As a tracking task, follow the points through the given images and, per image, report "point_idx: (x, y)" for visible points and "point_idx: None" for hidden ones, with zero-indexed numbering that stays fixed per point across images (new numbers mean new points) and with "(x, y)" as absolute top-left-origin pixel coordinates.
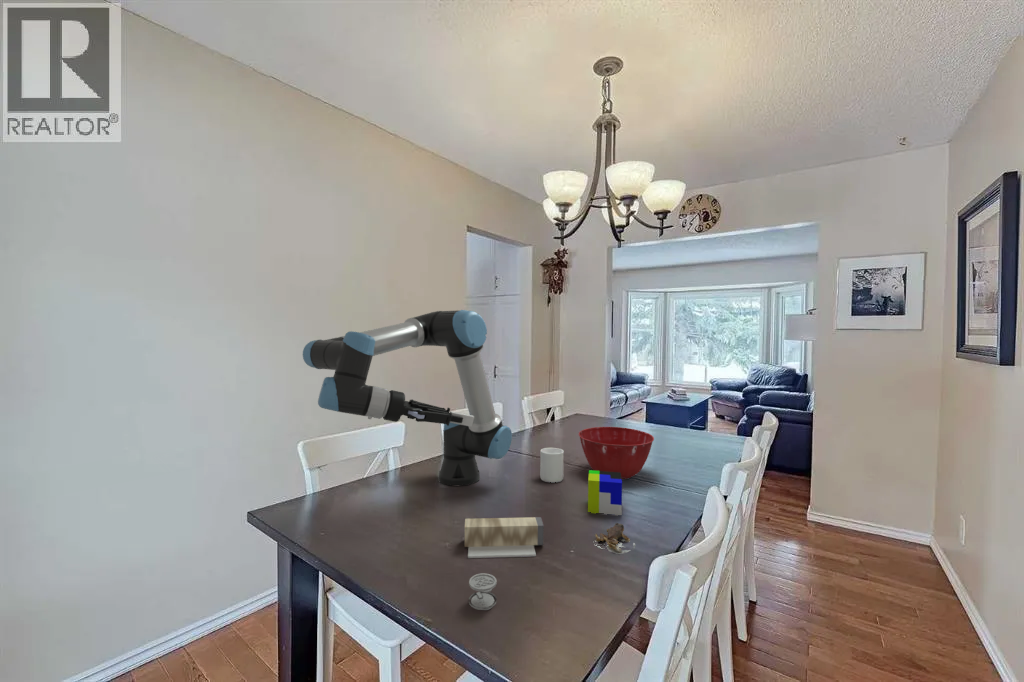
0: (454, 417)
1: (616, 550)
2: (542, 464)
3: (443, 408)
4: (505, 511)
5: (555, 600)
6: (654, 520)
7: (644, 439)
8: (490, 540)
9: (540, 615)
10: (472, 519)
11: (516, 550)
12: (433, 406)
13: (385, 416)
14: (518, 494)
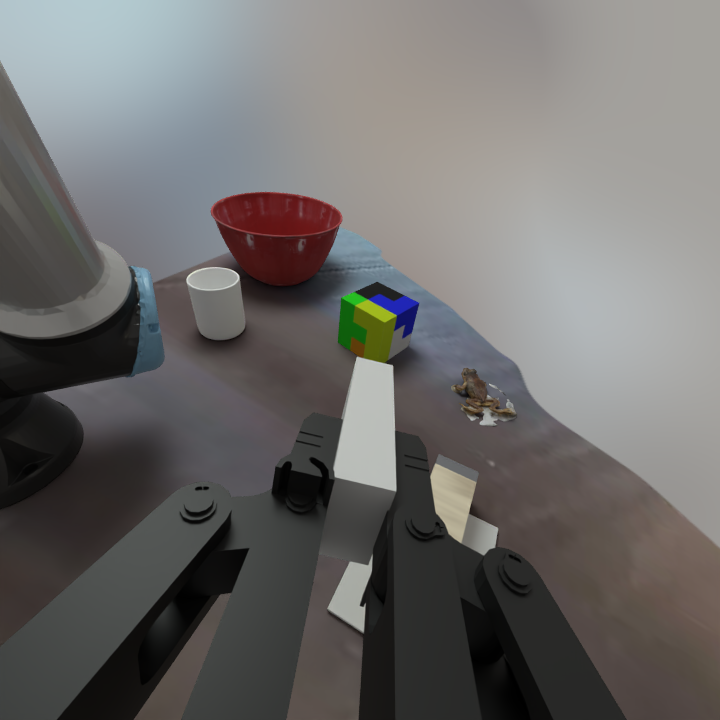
0: (429, 505)
1: (513, 414)
2: (210, 313)
3: (207, 509)
4: None
5: (657, 594)
6: (437, 331)
7: (299, 207)
8: None
9: (715, 658)
10: None
11: None
12: (67, 710)
13: None
14: (231, 402)
